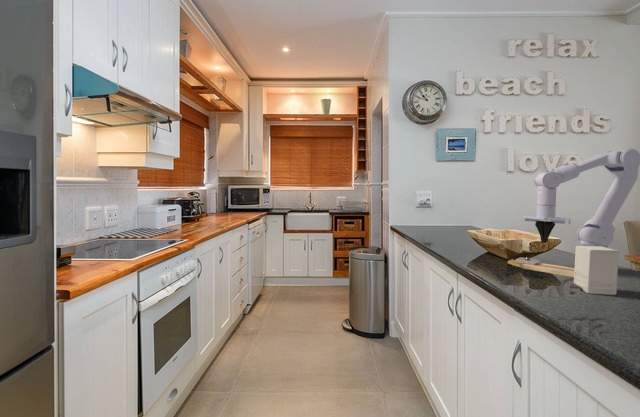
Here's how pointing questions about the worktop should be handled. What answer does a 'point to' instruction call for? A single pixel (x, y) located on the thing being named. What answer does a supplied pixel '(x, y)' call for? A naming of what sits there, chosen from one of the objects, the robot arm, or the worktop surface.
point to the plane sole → (550, 269)
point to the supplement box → (596, 269)
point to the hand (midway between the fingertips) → (544, 242)
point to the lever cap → (527, 260)
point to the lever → (515, 263)
